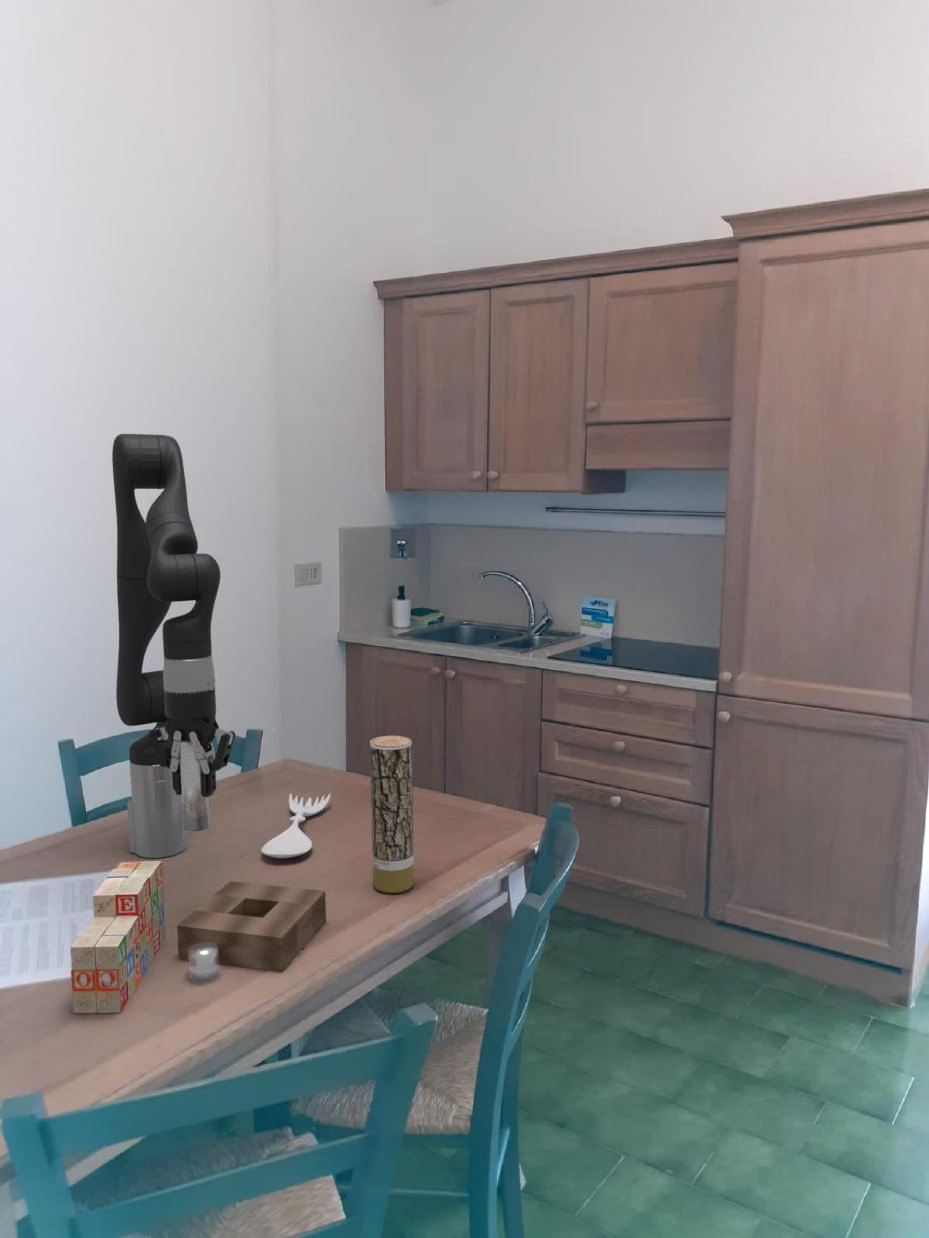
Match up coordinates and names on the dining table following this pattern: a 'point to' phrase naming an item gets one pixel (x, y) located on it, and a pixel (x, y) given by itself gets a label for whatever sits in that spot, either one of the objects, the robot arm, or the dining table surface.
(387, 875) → the paper tube
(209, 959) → the grey metal cylinder
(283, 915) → the hole block
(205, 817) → the long pin
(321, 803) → the spoon
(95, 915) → the stack of blocks
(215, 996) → the dining table surface
